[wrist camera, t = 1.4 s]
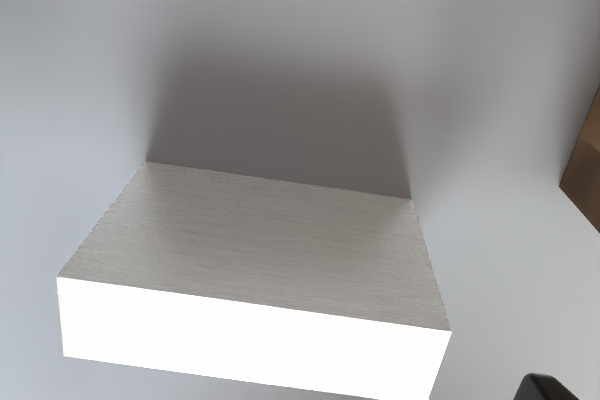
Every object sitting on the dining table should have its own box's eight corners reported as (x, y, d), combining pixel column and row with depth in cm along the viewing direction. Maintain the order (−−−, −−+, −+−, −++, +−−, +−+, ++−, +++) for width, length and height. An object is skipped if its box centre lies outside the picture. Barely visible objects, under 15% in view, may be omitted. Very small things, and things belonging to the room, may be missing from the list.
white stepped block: (411, 196, 12) (451, 331, 8) (375, 330, 14) (393, 495, 10) (147, 158, 12) (56, 276, 8) (146, 299, 14) (72, 452, 10)
